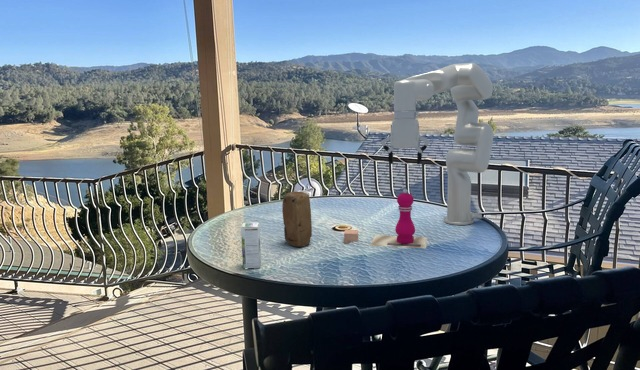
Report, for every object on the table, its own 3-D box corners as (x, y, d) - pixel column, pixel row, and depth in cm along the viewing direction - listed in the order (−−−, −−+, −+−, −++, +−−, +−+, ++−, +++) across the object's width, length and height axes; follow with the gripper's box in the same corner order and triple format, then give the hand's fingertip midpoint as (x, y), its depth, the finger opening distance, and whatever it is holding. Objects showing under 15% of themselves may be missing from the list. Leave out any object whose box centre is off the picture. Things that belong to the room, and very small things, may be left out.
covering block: (358, 239, 183) (357, 229, 182) (357, 243, 178) (357, 233, 177) (345, 239, 183) (345, 229, 182) (344, 243, 178) (344, 233, 178)
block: (314, 244, 178) (312, 193, 174) (298, 249, 173) (296, 196, 169) (296, 238, 186) (294, 189, 182) (281, 243, 181) (278, 192, 177)
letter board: (427, 239, 180) (427, 237, 179) (425, 250, 167) (425, 248, 167) (375, 236, 185) (375, 234, 185) (370, 247, 172) (370, 245, 172)
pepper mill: (415, 244, 171) (415, 191, 167) (395, 244, 173) (394, 191, 169) (415, 238, 178) (415, 187, 174) (395, 238, 180) (395, 187, 176)
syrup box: (244, 263, 161) (241, 222, 158) (261, 262, 161) (259, 221, 158) (243, 269, 155) (240, 227, 152) (261, 268, 156) (258, 226, 153)
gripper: (430, 114, 168) (429, 162, 171) (381, 115, 172) (382, 162, 176) (429, 115, 161) (429, 165, 164) (379, 117, 165) (379, 165, 168)
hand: (404, 163), depth 170 cm, fingers open, 9 cm apart
